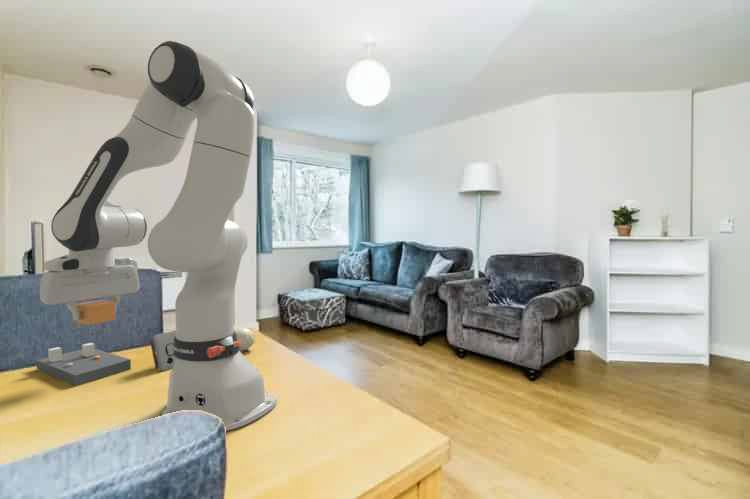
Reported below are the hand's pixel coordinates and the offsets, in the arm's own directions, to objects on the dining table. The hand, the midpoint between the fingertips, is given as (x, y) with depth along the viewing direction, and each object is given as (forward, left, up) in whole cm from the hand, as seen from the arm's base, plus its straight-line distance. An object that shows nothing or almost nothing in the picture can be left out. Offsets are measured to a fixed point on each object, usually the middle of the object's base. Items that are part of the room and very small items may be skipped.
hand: (95, 316), depth 92 cm
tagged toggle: (+8, -2, -12) cm, 15 cm away
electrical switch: (-10, -13, -15) cm, 22 cm away
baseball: (-17, -31, -15) cm, 38 cm away
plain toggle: (+11, +4, -12) cm, 17 cm away
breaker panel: (+6, 0, -15) cm, 16 cm away
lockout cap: (0, 0, -1) cm, 1 cm away
